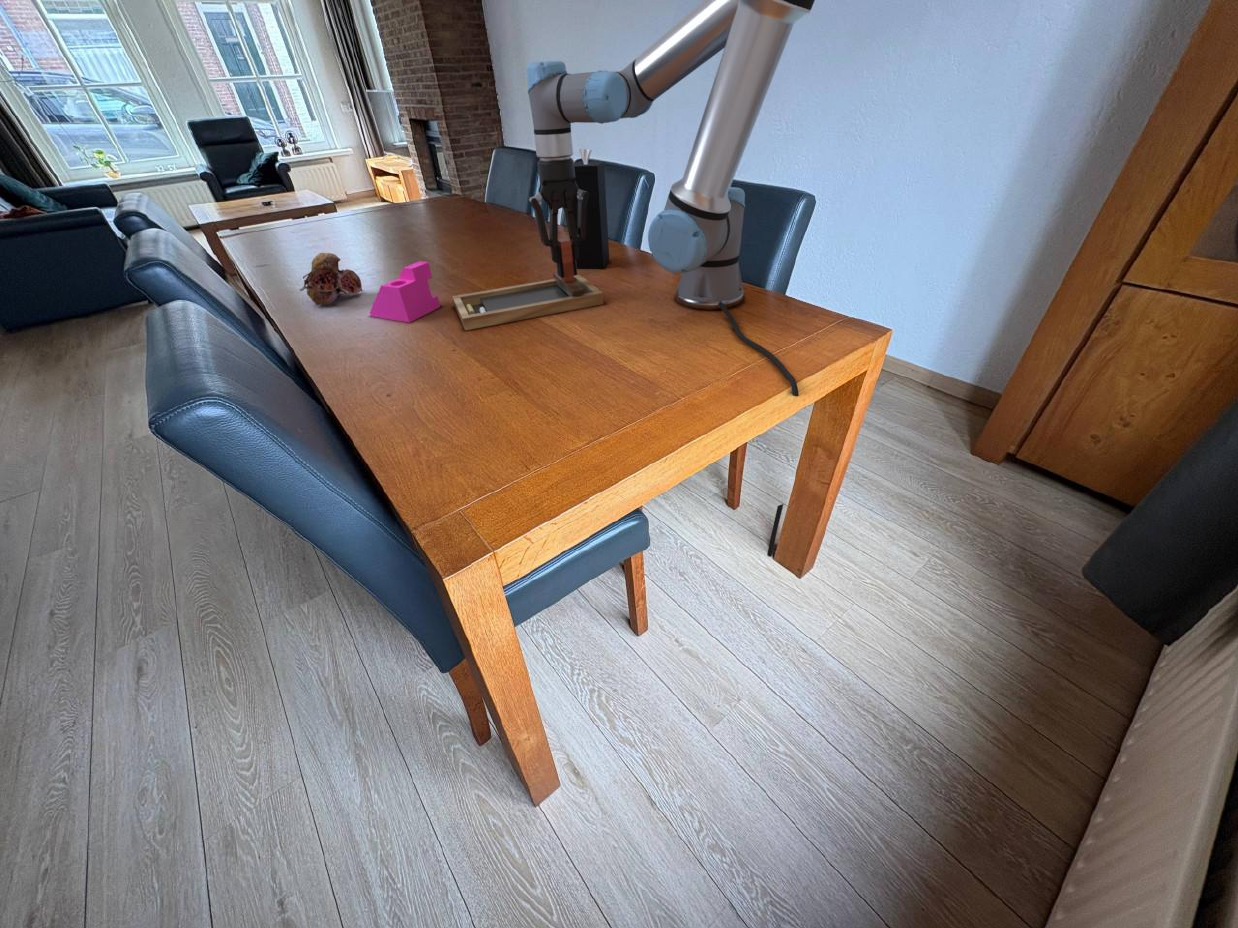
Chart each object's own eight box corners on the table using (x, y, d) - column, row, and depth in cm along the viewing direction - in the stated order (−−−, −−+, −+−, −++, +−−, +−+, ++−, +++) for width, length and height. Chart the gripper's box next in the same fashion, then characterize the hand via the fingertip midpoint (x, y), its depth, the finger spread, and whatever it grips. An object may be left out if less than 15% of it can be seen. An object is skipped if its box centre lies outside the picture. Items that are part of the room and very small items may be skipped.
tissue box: (603, 269, 136) (596, 150, 119) (576, 268, 138) (565, 151, 121) (609, 260, 142) (603, 146, 125) (583, 260, 144) (573, 147, 127)
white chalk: (483, 320, 109) (489, 319, 110) (481, 315, 108) (487, 313, 109) (480, 313, 113) (485, 311, 113) (478, 307, 112) (484, 306, 112)
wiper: (585, 298, 113) (580, 246, 106) (573, 300, 112) (568, 248, 105) (564, 280, 124) (559, 232, 117) (554, 282, 123) (548, 234, 116)
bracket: (440, 306, 118) (428, 262, 112) (409, 322, 111) (394, 275, 104) (402, 301, 122) (389, 258, 116) (370, 316, 115) (354, 271, 109)
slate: (603, 304, 115) (602, 293, 113) (465, 330, 106) (462, 318, 104) (580, 284, 126) (580, 274, 125) (454, 307, 117) (452, 296, 116)
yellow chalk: (472, 317, 112) (476, 313, 111) (468, 313, 111) (472, 309, 111) (468, 310, 115) (472, 306, 115) (464, 306, 114) (468, 302, 114)
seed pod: (280, 291, 111) (340, 259, 113) (272, 259, 120) (327, 230, 122) (321, 334, 122) (375, 304, 124) (311, 302, 131) (361, 275, 133)
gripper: (584, 153, 106) (592, 266, 121) (514, 160, 102) (531, 276, 116) (596, 156, 101) (603, 274, 115) (523, 163, 96) (540, 285, 111)
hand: (567, 274), depth 116 cm, fingers closed on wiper, 2 cm apart
